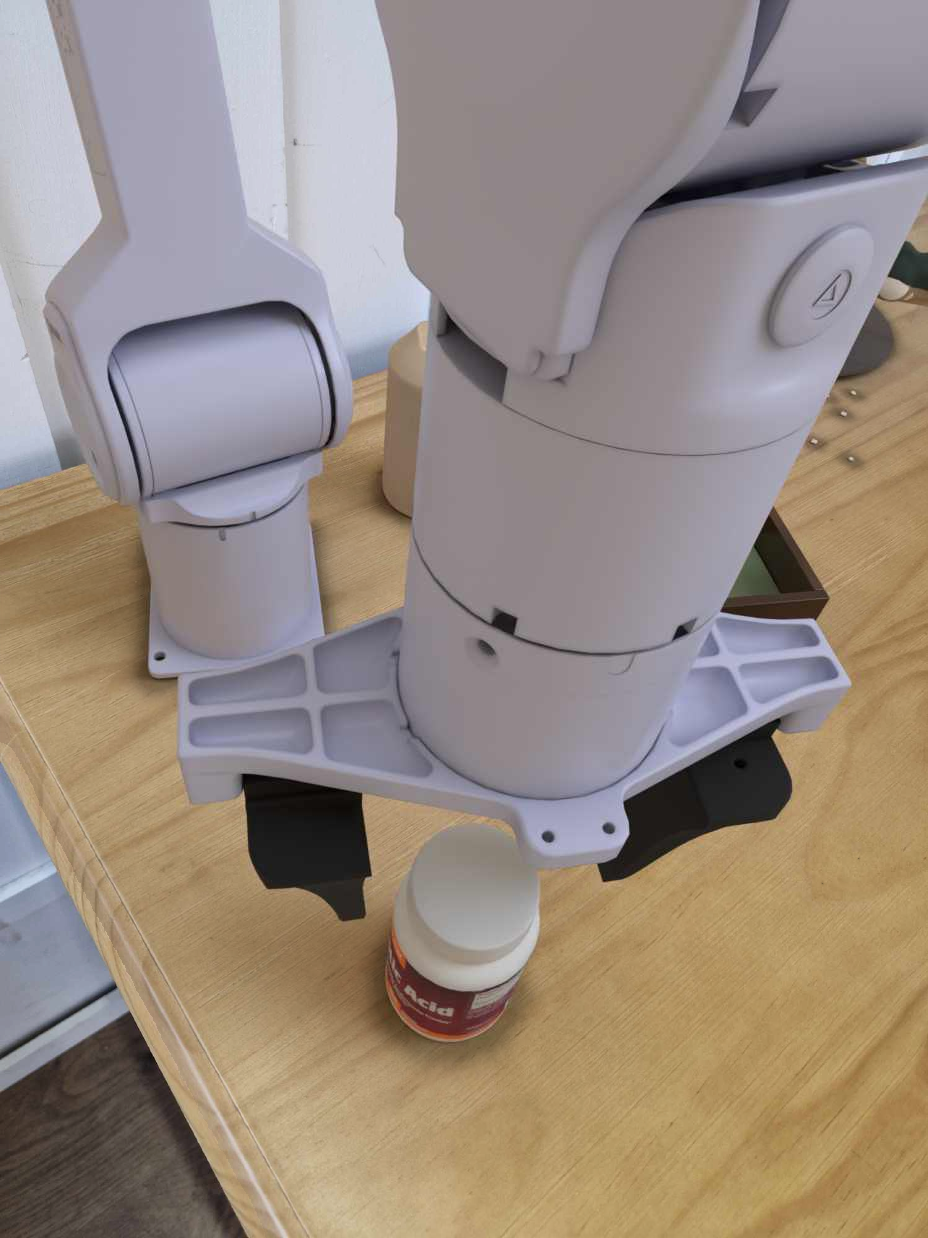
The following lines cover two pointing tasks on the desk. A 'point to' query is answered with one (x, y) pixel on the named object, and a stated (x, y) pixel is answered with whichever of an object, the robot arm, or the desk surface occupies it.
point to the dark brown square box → (776, 579)
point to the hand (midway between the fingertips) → (479, 867)
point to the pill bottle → (461, 932)
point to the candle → (403, 417)
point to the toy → (907, 282)
